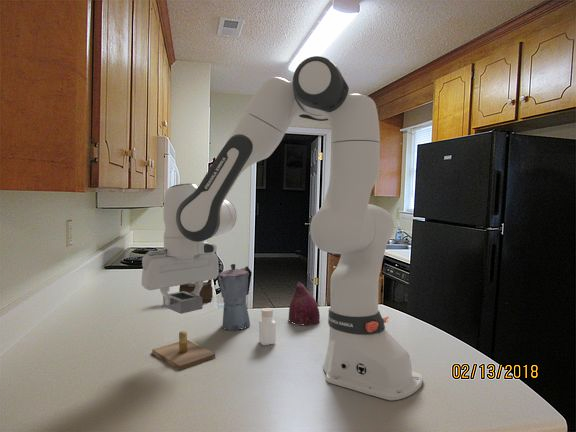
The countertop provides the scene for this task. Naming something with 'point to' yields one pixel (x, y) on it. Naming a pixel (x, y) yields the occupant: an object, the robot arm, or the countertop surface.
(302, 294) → the vegetable
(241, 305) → the moka pot
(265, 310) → the pepper shaker
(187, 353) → the keeper
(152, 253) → the robot arm
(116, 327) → the countertop surface
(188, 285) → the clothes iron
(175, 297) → the link
